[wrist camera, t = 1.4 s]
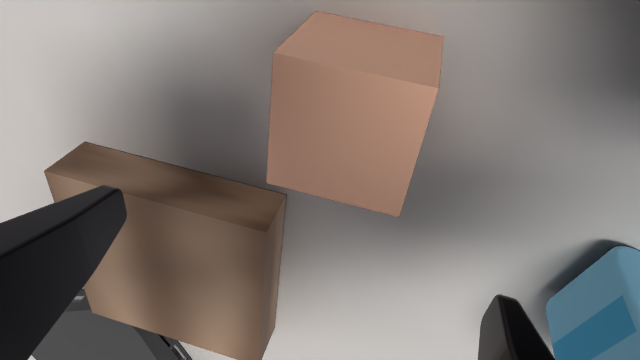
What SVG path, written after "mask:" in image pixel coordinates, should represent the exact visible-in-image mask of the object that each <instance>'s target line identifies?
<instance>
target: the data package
mask: <svg viewBox="0 0 640 360" xmlns="http://www.w3.org/2000/svg"><path fill="white" fill-rule="evenodd" d="M546 316H547V321H548V326H549V331H550V336H551V341H552V346H553V351H554V356H555V360H640V251H639V250H636V249H634V248H630V247H626V246H618V247H614V248H612V249H611V250H610V251H608V252H607V253H606V254H605V255H603V256H602V257H601V258H600V259H599V260H597V261H596V262H595V263H594V264H592V265H591V266H590V267H589V268H587V269H586V270H585V271H584V272H583V273H581V274H580V275H579V276H578V277H576V278H575V279H574V280H573V281H571V282H570V283H569V284H568V285H566V286H565V287H564V288H563V289H562V290H560V291H559V292H558V293H557V294H555V295H554V296H553V297H552V298H550V300H549V301H548V303H547V305H546Z"/></svg>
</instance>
